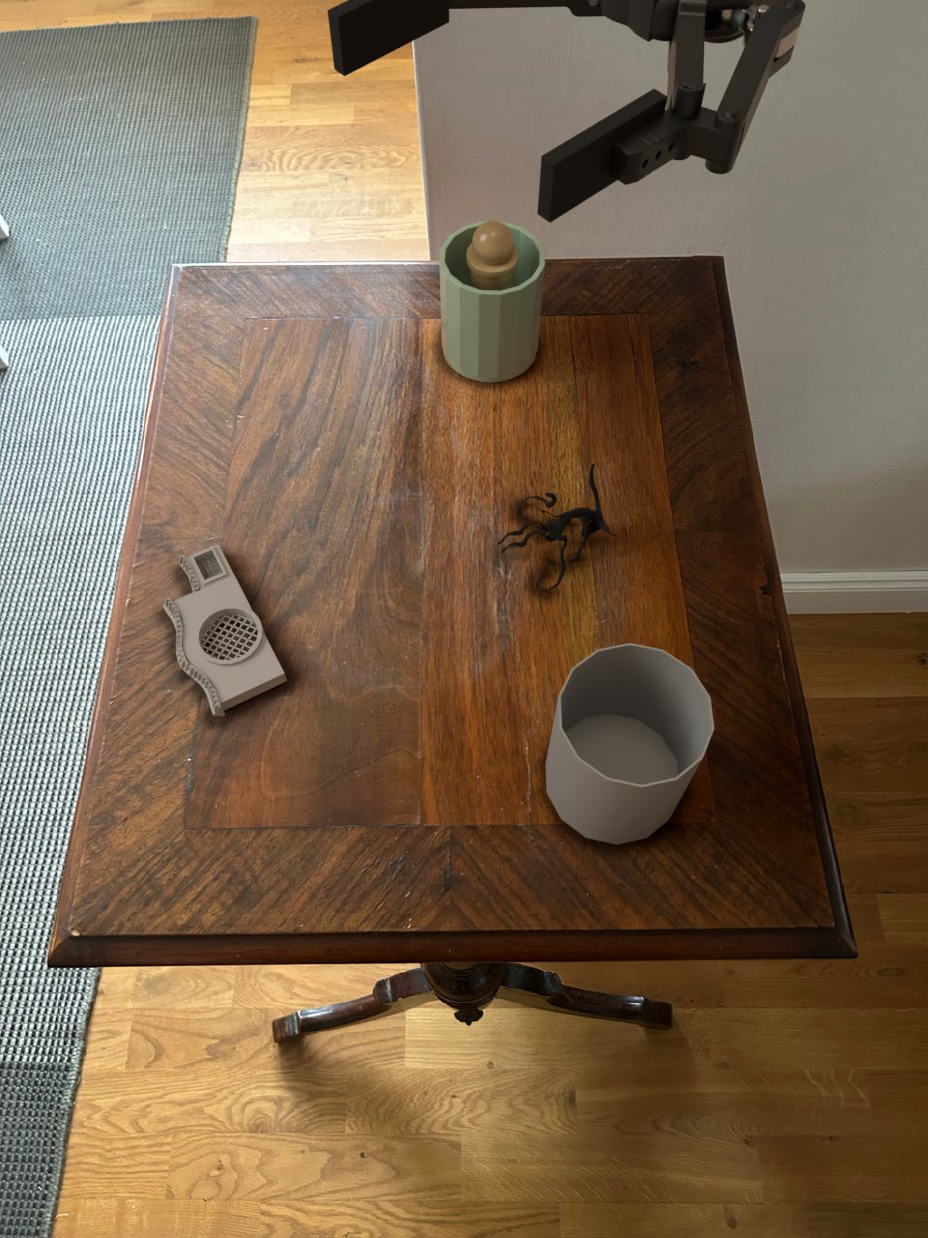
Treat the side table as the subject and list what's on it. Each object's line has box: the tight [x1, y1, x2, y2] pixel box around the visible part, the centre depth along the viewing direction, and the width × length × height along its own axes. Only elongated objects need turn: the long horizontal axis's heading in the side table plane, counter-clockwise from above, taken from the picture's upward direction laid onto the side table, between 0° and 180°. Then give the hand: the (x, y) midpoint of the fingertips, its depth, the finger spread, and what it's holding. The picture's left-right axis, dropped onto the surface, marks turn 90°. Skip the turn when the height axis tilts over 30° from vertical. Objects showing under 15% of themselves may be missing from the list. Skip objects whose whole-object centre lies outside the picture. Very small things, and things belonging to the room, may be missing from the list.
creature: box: [497, 463, 619, 592], centre depth 69 cm, size 8×5×8 cm
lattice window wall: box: [162, 543, 288, 718], centre depth 67 cm, size 12×2×6 cm
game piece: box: [466, 220, 519, 291], centre depth 76 cm, size 4×4×11 cm
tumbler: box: [438, 220, 546, 383], centre depth 77 cm, size 8×8×9 cm
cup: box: [545, 642, 715, 845], centre depth 59 cm, size 8×8×10 cm
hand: (433, 113), depth 43 cm, fingers open, 13 cm apart
